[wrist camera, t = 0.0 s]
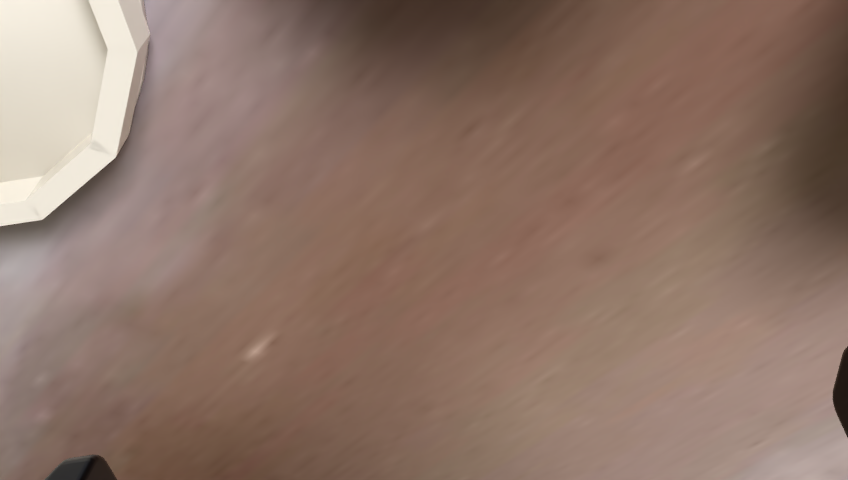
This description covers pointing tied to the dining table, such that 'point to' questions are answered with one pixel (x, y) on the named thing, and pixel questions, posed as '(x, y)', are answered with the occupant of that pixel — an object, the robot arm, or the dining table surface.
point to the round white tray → (64, 96)
